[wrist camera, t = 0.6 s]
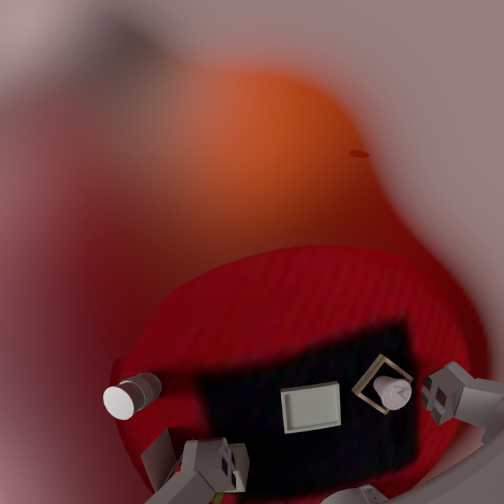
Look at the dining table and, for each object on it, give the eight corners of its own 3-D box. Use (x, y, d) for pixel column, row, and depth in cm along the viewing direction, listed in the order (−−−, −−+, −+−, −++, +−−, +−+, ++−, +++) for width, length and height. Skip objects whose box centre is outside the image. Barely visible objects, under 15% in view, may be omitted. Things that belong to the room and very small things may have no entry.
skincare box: (226, 444, 52) (215, 470, 40) (245, 442, 52) (238, 469, 40) (232, 465, 51) (223, 493, 39) (250, 463, 51) (245, 492, 39)
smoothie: (386, 364, 53) (414, 378, 39) (397, 384, 52) (426, 402, 38) (363, 381, 53) (385, 400, 39) (375, 401, 52) (399, 424, 38)
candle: (149, 364, 57) (116, 379, 42) (169, 388, 56) (140, 409, 41) (131, 380, 57) (97, 397, 42) (150, 403, 55) (120, 425, 41)
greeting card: (181, 466, 52) (161, 498, 37) (155, 452, 53) (129, 480, 38) (198, 436, 53) (178, 468, 38) (170, 421, 54) (143, 448, 40)
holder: (408, 375, 52) (413, 378, 49) (381, 410, 51) (385, 414, 48) (379, 353, 54) (384, 356, 51) (351, 389, 53) (355, 394, 50)
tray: (336, 380, 53) (338, 383, 51) (338, 420, 52) (340, 424, 49) (280, 389, 54) (280, 392, 52) (284, 428, 52) (284, 433, 50)
